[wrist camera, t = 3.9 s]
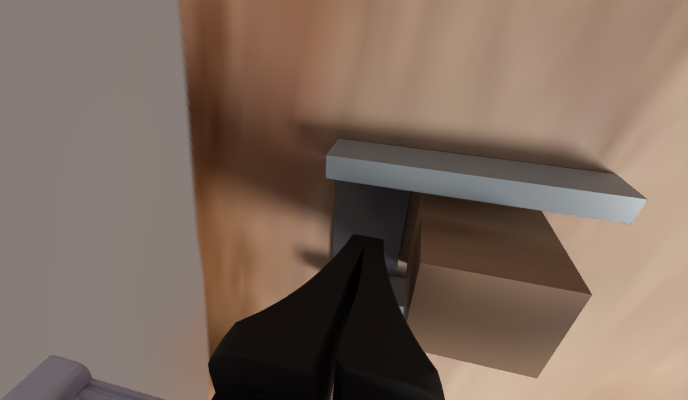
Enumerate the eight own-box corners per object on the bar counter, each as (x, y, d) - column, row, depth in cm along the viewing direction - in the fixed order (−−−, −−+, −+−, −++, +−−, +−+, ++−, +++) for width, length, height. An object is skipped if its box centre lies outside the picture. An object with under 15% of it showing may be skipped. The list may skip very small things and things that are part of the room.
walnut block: (506, 281, 16) (536, 378, 11) (406, 262, 16) (400, 346, 12) (539, 207, 13) (592, 295, 9) (422, 190, 14) (420, 262, 10)
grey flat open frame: (535, 318, 16) (548, 352, 15) (332, 276, 18) (322, 303, 16) (616, 173, 12) (647, 199, 10) (338, 138, 14) (326, 155, 12)
